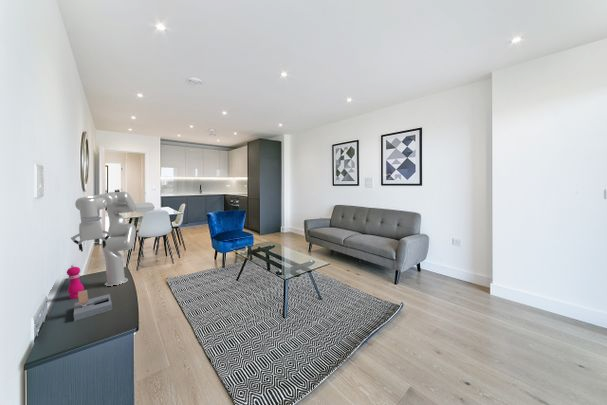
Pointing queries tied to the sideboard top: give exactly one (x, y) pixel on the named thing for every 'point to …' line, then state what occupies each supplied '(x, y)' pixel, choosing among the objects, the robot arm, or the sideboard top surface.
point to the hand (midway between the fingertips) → (93, 249)
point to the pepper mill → (74, 282)
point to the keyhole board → (92, 307)
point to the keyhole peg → (83, 298)
